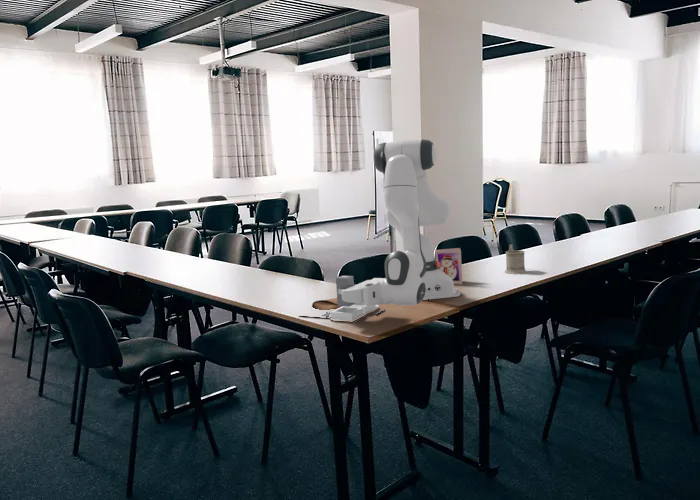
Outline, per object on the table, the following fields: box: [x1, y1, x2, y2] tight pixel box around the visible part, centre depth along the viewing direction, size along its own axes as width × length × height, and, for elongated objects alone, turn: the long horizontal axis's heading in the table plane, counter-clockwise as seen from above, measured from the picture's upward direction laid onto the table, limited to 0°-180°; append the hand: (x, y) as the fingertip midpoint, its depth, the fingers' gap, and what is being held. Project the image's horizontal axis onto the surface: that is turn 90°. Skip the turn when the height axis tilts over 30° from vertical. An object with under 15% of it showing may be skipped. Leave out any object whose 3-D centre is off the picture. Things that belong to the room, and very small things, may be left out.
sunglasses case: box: [311, 297, 342, 310], centre depth 217 cm, size 18×7×7 cm
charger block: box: [335, 275, 355, 307], centre depth 199 cm, size 4×4×10 cm
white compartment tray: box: [329, 303, 380, 321], centre depth 206 cm, size 21×9×3 cm, turn 151°
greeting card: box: [434, 247, 463, 285], centre depth 250 cm, size 11×7×15 cm, turn 64°
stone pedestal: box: [504, 244, 527, 275], centre depth 266 cm, size 14×10×12 cm
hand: (343, 289), depth 200 cm, fingers closed on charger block, 4 cm apart
